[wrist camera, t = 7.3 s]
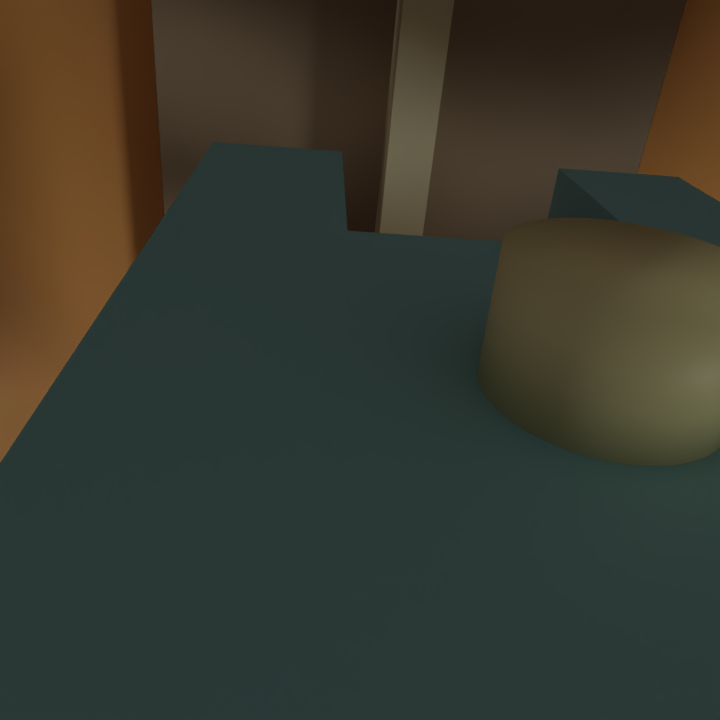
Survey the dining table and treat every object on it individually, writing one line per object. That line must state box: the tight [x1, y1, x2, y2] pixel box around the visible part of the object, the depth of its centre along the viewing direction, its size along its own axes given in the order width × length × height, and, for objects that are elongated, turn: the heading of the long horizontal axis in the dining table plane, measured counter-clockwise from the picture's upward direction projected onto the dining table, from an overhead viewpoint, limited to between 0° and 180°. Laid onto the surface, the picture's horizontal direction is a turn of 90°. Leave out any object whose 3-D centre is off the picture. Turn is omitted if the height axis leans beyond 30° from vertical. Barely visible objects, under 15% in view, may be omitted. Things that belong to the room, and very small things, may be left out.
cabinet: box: [0, 142, 720, 720], centre depth 8 cm, size 11×6×8 cm, turn 175°
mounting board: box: [151, 0, 686, 241], centre depth 21 cm, size 22×14×3 cm, turn 175°
